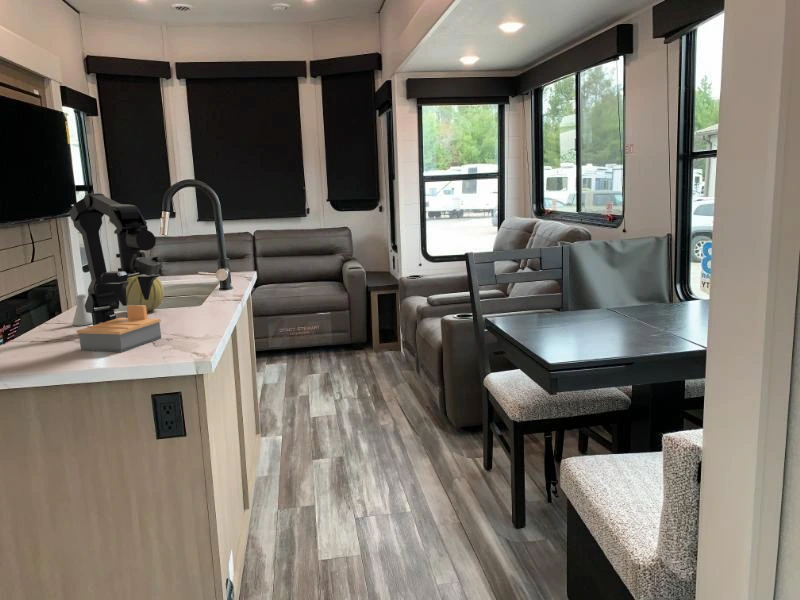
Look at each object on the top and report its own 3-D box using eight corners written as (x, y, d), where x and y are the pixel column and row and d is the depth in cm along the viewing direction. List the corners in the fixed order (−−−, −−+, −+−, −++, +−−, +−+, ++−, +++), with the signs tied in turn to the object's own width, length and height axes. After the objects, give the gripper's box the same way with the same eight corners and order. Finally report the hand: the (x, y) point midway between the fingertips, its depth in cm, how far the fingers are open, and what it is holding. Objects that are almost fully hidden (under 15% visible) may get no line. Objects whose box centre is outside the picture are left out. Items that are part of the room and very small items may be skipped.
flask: (68, 326, 211) (63, 296, 209) (85, 321, 218) (81, 292, 216) (84, 326, 208) (79, 297, 207) (101, 322, 215) (97, 293, 213)
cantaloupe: (131, 309, 237) (126, 269, 235) (171, 306, 238) (166, 267, 236) (116, 317, 223) (111, 274, 220) (159, 314, 224) (154, 272, 221)
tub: (81, 350, 175) (78, 332, 174) (122, 336, 190) (120, 320, 189) (122, 352, 171) (119, 334, 170) (161, 338, 186) (159, 321, 185)
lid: (77, 335, 174) (74, 316, 173) (120, 322, 190) (118, 304, 189) (120, 336, 169) (117, 317, 169) (161, 323, 185) (159, 305, 184)
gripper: (129, 253, 171) (136, 309, 174) (173, 245, 189) (179, 297, 192) (96, 253, 175) (103, 308, 178) (143, 246, 192) (148, 296, 195)
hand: (136, 302), depth 185 cm, fingers open, 9 cm apart
